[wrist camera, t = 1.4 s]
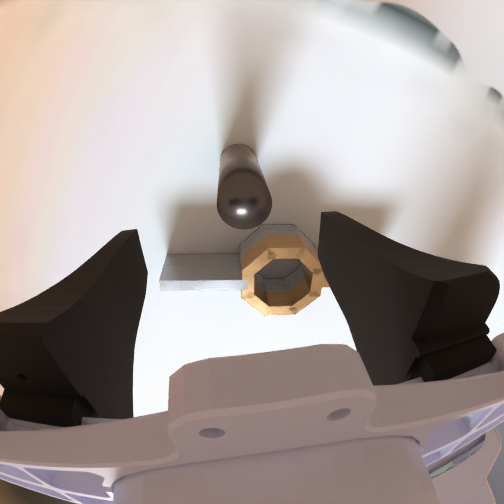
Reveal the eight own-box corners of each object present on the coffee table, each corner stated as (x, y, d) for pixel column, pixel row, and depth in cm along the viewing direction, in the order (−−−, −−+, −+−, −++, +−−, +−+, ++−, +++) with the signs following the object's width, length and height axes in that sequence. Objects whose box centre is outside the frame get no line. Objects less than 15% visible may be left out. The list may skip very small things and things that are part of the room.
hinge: (381, 225, 24) (400, 246, 21) (367, 283, 27) (382, 308, 24) (163, 225, 23) (154, 249, 20) (171, 288, 25) (165, 316, 22)
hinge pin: (256, 144, 20) (273, 178, 13) (255, 178, 21) (270, 229, 15) (220, 144, 20) (216, 178, 13) (220, 178, 21) (217, 229, 14)
